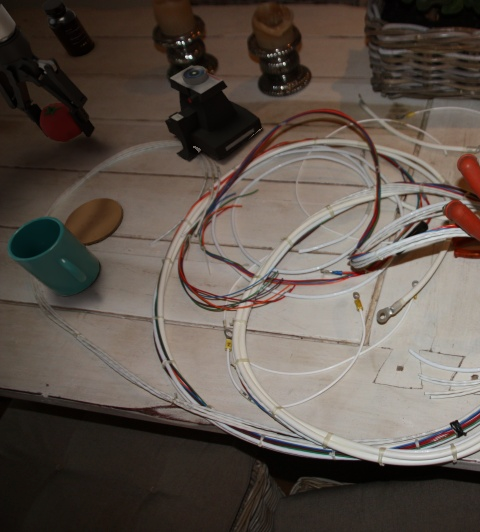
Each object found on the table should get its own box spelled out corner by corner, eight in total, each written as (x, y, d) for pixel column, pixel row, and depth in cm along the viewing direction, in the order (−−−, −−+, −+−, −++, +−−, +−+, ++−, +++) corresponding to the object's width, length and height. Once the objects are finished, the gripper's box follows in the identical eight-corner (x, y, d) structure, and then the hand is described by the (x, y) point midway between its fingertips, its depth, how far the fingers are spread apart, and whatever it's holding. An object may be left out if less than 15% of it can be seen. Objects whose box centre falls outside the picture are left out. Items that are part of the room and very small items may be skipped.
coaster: (55, 244, 101) (53, 242, 101) (80, 199, 107) (78, 197, 107) (110, 245, 100) (108, 243, 99) (131, 200, 106) (130, 198, 105)
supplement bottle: (62, 52, 138) (31, 7, 128) (83, 37, 141) (55, -7, 131) (78, 59, 135) (47, 14, 125) (99, 45, 138) (71, -1, 128)
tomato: (56, 152, 111) (34, 125, 105) (48, 130, 115) (26, 103, 109) (94, 136, 113) (74, 108, 107) (85, 115, 117) (66, 87, 111)
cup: (79, 314, 92) (36, 278, 83) (40, 282, 97) (-5, 245, 87) (121, 276, 95) (84, 238, 86) (82, 247, 100) (43, 208, 91)
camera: (246, 71, 103) (183, 111, 96) (263, 133, 115) (209, 172, 107) (192, 47, 110) (130, 82, 103) (214, 108, 121) (159, 143, 114)
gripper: (-70, 48, 94) (16, 145, 113) (41, 46, 92) (111, 145, 111) (-47, 23, 98) (33, 120, 117) (60, 20, 96) (124, 120, 115)
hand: (71, 132), depth 114 cm, fingers closed on tomato, 8 cm apart
